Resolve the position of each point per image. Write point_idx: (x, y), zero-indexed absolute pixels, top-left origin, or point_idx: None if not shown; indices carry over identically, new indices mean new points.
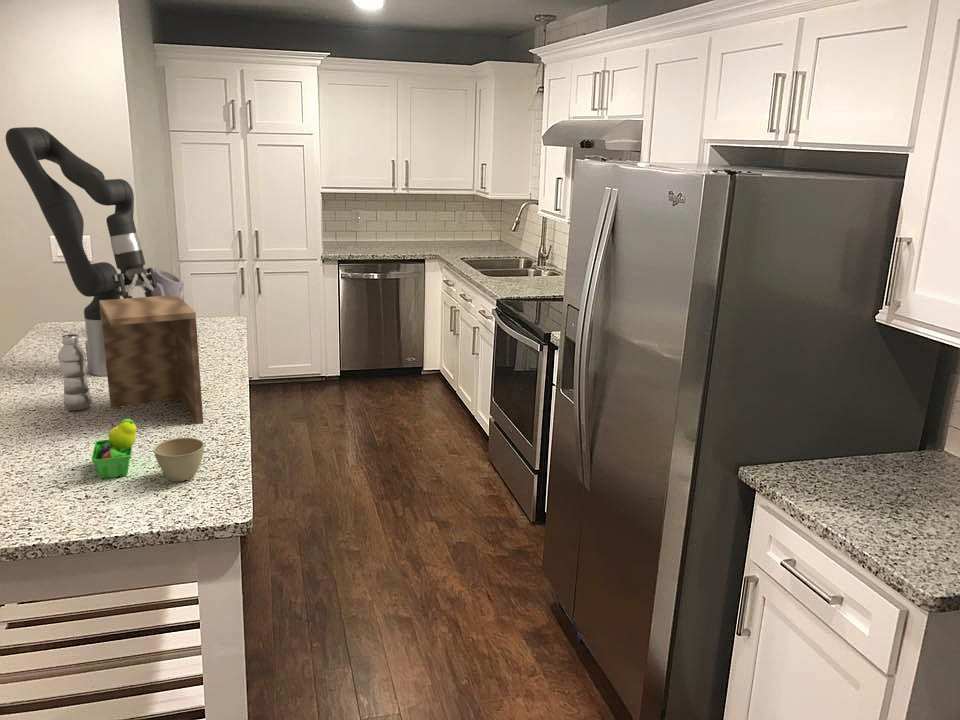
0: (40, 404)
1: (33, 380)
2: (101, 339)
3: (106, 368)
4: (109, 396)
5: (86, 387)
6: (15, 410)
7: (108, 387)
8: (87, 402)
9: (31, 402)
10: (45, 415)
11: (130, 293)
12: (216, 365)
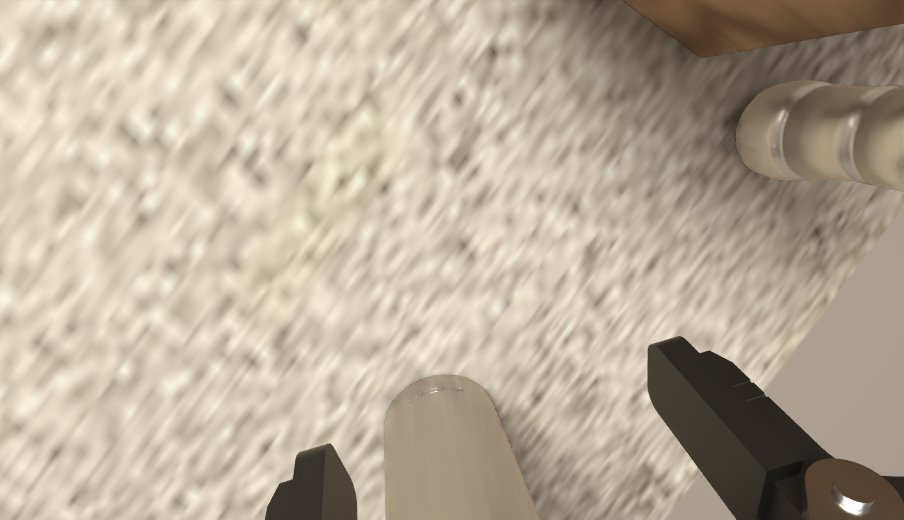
0: (771, 270)
1: (625, 489)
2: (519, 493)
3: (850, 30)
4: (731, 51)
5: (832, 89)
6: (834, 274)
7: (761, 47)
8: (790, 81)
9: (768, 307)
10: None
11: (850, 492)
12: (47, 176)
